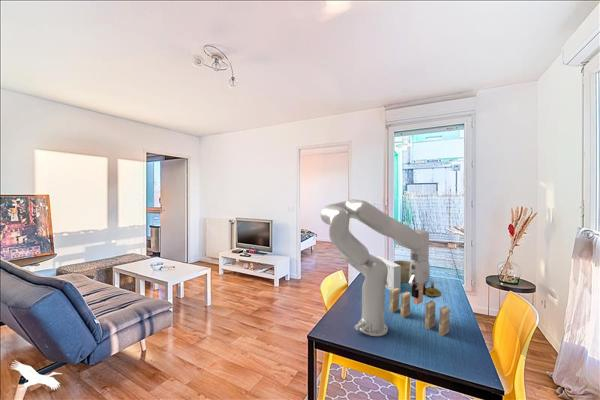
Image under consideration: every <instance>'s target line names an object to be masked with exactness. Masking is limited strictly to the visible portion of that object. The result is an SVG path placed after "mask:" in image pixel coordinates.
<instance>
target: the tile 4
mask: <svg viewBox="0 0 600 400" xmlns="http://www.w3.org/2000/svg"><path fill="white" fill-rule="evenodd" d="M450 314H451V307H450V306H447V305H444V306H442V307H441V308H439V319H438V320H439V321H438V335H439V336H442V337H444V336H445V335H447V334H448V333H449V332H450V316H451V315H450Z"/></svg>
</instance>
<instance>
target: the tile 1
mask: <svg viewBox="0 0 600 400" xmlns="http://www.w3.org/2000/svg"><path fill="white" fill-rule="evenodd" d="M410 313H411V292H409V291H405V292H403V293H401V294H400V317H402V318H407V317H408V316H410V315H411V314H410Z"/></svg>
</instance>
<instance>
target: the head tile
mask: <svg viewBox="0 0 600 400" xmlns="http://www.w3.org/2000/svg"><path fill="white" fill-rule="evenodd" d="M399 310H400V292H399V288H394V289H391V290H389V312H390V313H392V314H393V313H395V312H398V311H399Z"/></svg>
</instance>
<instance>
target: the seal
mask: <svg viewBox="0 0 600 400" xmlns="http://www.w3.org/2000/svg"><path fill="white" fill-rule="evenodd" d="M430 285H431V286H429V287H426V288H425V295H424V296H426V297H428V298H440V297H441V294H442V293H441V291H440V289H438V288H436V287H435V283H434V282H431V284H430Z"/></svg>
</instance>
